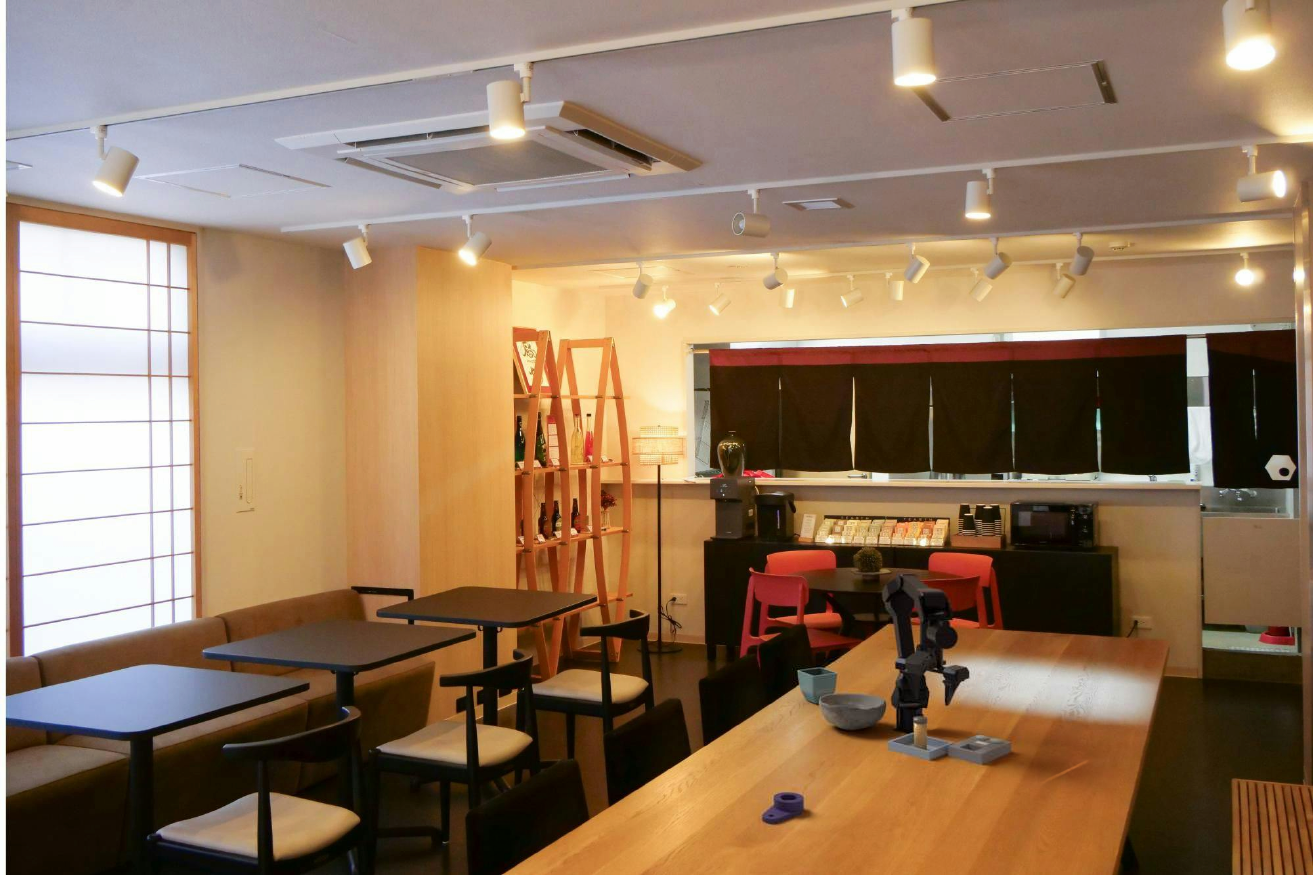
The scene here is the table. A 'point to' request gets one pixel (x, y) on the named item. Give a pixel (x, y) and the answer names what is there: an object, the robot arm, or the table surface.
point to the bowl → (852, 710)
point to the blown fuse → (920, 732)
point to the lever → (784, 808)
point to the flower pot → (816, 683)
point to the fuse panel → (979, 749)
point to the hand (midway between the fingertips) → (931, 701)
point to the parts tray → (907, 747)
